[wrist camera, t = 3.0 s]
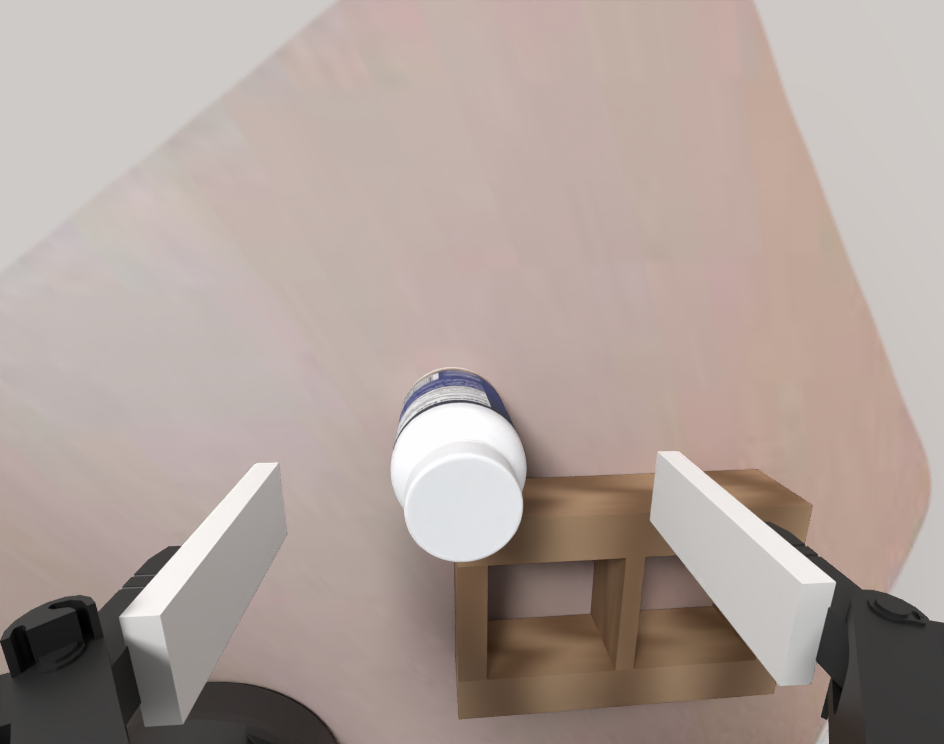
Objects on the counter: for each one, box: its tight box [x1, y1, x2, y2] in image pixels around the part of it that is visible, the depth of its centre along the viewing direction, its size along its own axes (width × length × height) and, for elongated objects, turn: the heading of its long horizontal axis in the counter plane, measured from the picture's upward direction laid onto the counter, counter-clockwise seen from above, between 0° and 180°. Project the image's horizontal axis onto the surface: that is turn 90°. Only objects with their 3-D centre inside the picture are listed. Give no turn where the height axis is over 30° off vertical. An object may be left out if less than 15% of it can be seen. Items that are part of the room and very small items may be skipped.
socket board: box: [454, 469, 813, 719], centre depth 25 cm, size 18×12×4 cm, turn 90°
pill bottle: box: [391, 367, 527, 562], centre depth 19 cm, size 5×5×10 cm
